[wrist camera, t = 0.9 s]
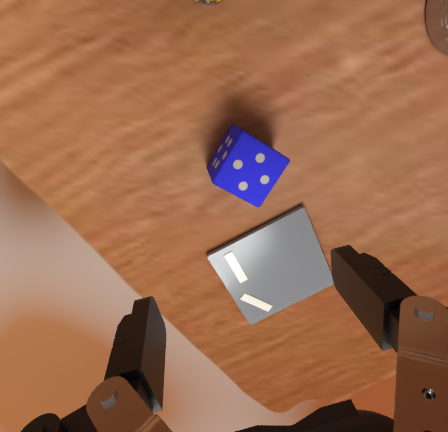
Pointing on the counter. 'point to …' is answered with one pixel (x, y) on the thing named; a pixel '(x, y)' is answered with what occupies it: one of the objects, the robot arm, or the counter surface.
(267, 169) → the die
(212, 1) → the supplement bottle
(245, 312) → the tile
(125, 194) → the counter surface
